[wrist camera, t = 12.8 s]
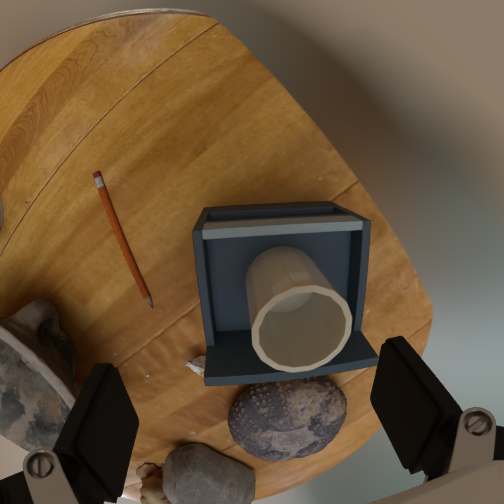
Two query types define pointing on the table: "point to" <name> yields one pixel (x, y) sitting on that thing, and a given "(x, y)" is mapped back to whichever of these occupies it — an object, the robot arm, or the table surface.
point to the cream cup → (294, 311)
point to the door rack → (242, 255)
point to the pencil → (121, 237)
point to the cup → (1, 213)
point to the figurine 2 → (196, 364)
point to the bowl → (35, 376)
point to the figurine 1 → (152, 484)
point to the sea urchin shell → (287, 417)
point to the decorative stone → (206, 477)
